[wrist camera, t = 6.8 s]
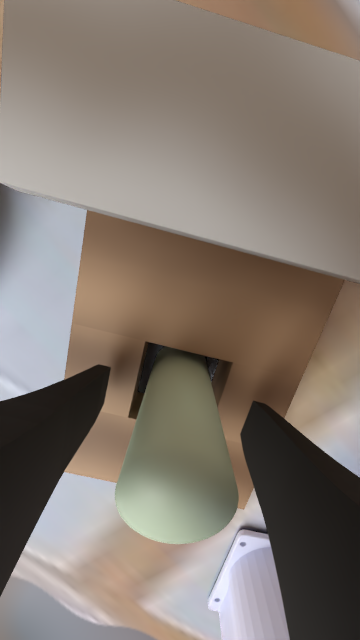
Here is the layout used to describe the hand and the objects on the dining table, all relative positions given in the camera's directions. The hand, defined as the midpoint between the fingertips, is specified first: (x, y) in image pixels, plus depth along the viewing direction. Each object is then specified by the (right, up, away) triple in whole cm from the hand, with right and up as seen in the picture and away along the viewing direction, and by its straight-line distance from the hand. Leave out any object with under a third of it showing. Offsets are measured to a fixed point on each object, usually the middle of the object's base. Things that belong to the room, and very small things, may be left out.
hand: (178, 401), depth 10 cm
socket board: (+1, +3, +3) cm, 4 cm away
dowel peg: (0, +1, +3) cm, 3 cm away
